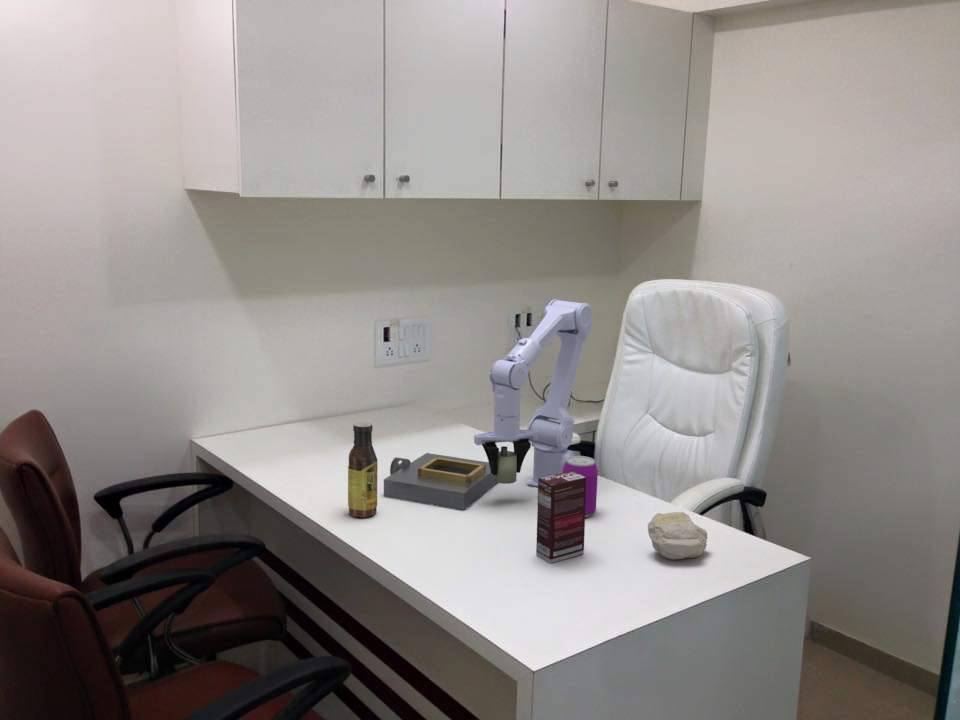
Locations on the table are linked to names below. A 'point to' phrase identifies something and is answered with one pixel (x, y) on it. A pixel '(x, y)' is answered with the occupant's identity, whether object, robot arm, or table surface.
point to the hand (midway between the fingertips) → (505, 472)
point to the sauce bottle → (362, 473)
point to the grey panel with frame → (439, 480)
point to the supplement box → (561, 516)
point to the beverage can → (590, 471)
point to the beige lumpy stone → (676, 536)
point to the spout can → (506, 466)
